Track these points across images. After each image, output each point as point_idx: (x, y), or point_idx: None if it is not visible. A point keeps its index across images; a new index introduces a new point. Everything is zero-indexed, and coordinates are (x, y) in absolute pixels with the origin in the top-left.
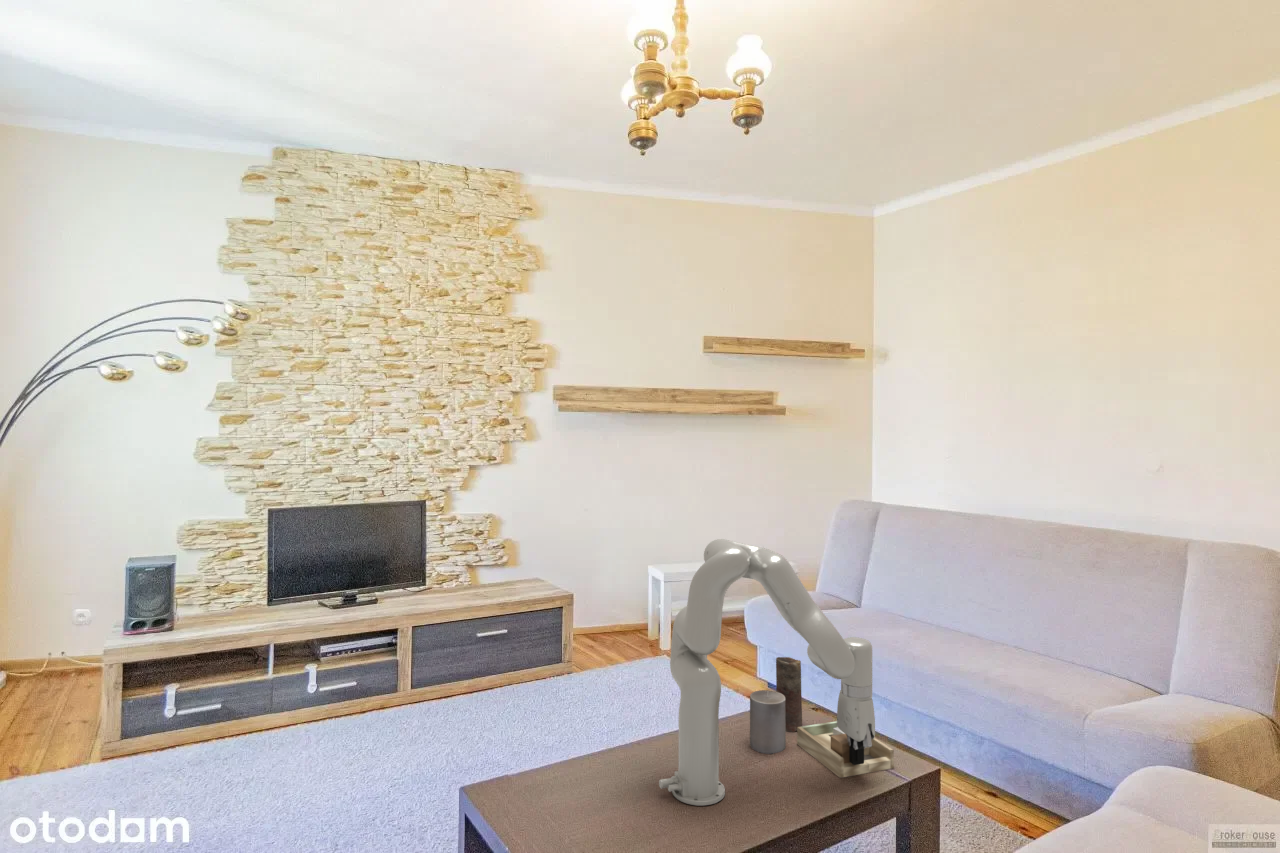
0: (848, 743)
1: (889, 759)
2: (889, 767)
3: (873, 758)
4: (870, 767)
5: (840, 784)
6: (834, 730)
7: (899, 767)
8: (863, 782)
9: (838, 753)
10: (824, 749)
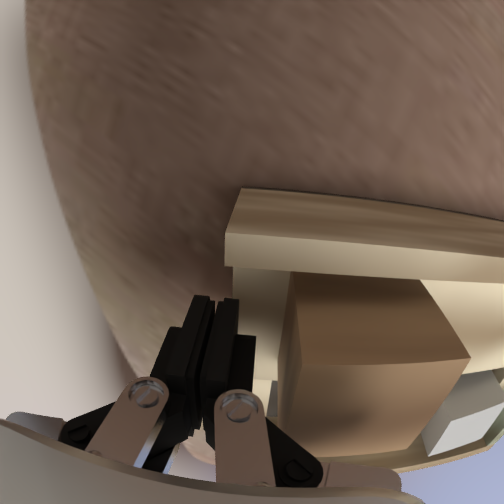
0: (255, 403)
1: None
2: None
3: None
4: None
5: (188, 149)
6: (499, 398)
7: None
8: (172, 274)
9: (343, 295)
10: (444, 244)
